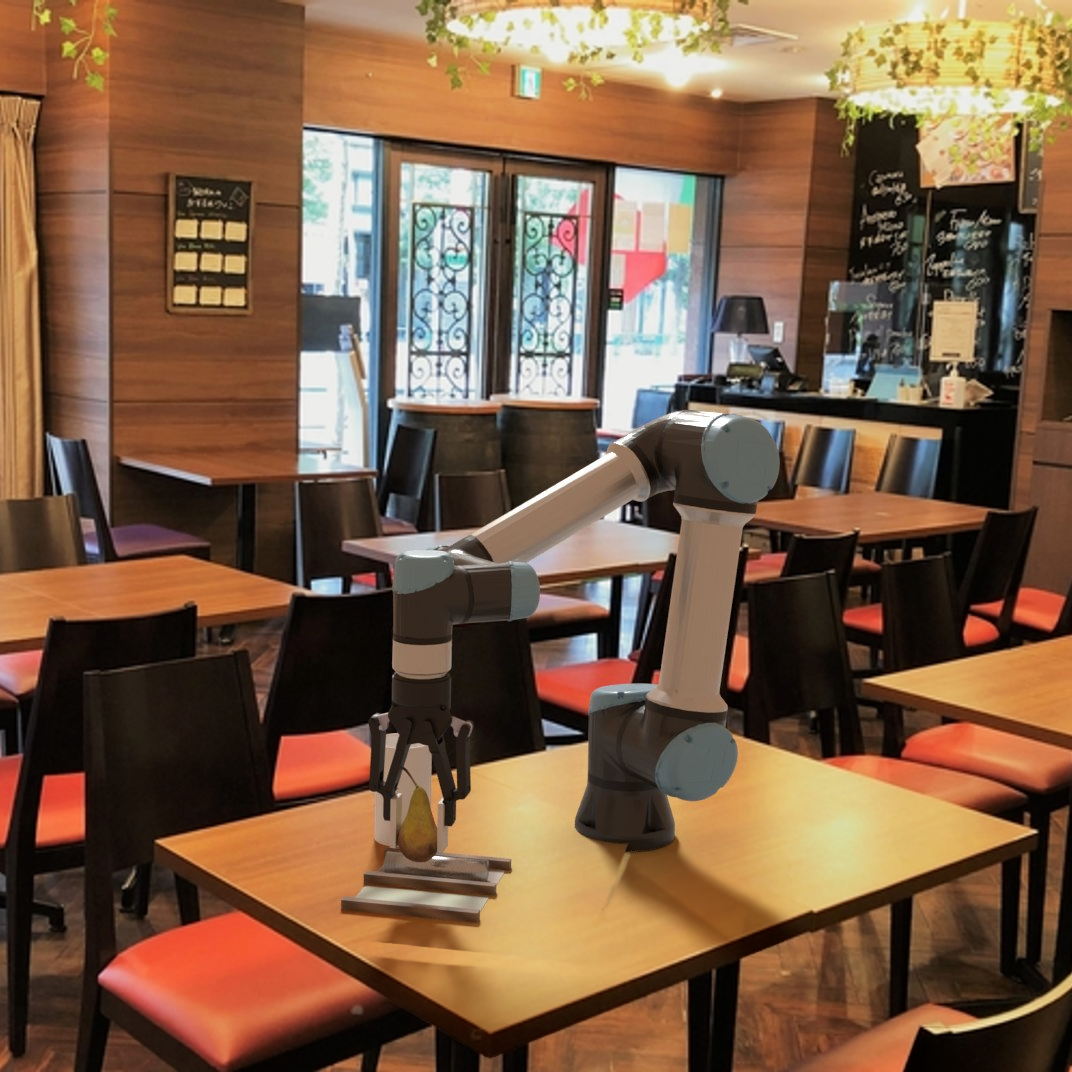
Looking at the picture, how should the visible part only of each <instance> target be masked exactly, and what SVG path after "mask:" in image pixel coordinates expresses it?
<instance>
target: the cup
mask: <svg viewBox="0 0 1072 1072" xmlns="http://www.w3.org/2000/svg"><path fill="white" fill-rule="evenodd" d="M398 738H399V734H398V732H396V733H386V746H385V764H384V781H385V782H386V779H387V776H388V773H389V770H390V766H391V763H392V760H393V757H394V753H395V750H396V744H397V741H398ZM432 761H433V758H432V754H431V753H430V751H429V748H428V745H423V744H420V743H416V744H411V746H410V748H409V751H408V754H407V757H406V761H405V764H404V767H405V768H406V769H407V770H408V771H409V773H410V774H411V776H412V778H413V779H414V781H415V782H416V784H417V785H418V786H420V787H422V788H424V790H425V791H426V793H427V795H428V798H429V803H430V807H431V808H432ZM397 788H398V789H397V790H396V791H395V794H396V793H402V823H403V821H404V819H405V817H406V815H407V813H408V809H409V805H410V800H411V797H412V795H413V791H414V790H415V789H416V786H415V784H414V783H413V781H412V779H411V778H410V777H409V775H408V774H407V773H406V772H405V771H404V770H402V774H401V777H400V780H399V783H398V786H397ZM373 823H374V828H373V829H374V837H373V838H374V840H375V842H377V843H378V844H380V845H382V846H385V847H386V846H387V847H390V821H385V820H384V818H383V796H382V795H381V794H380V793H378V792H374V822H373ZM396 848H399V846H397V847H396Z"/></svg>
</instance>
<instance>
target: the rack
mask: <svg viewBox="0 0 1072 1072" xmlns="http://www.w3.org/2000/svg"><path fill="white" fill-rule="evenodd" d="M383 851H384V852H383V855H384V856H383V859H385V855H386V853H387V852H388V851H389V852H400V853H402V852H401V851H400V849H399V848H398V847H396V848H390V847H385V848H384V850H383ZM435 856H443V857H454V858H465V859H476V860H487V861H489V876H488V880H487V882H479V881H468V880H458V879H447V878H436V877H426V876H415V875H405V874H394V873H385V872H384V863H383V864H382V865H381V866H380V867H379V869H378V870H376V871H372V870H366V871H365V872H364V873H363V884H365V885H364V886H363V887H362V888H361V890H360V891H359V892H358V893H357V894H356V895H355V896H354V897H353V896H352V897H351V896H343V897H342V898H341V900H340V901H341V902H340V907H341V908H340V910H342V911H343V910H344V911H354V912H365V913H373V914H375V913H376V914H383V915H384V914H385V915H395V916H405V917H413V918H414V917H415V918H424V919H435V920H444V921H445V920H446V921H456V922H464V923H475V924H478V923H479V922H480V918H481V912H482V910H483V908H484V907H485V905H486V903H487V902H488V900H489V899H490V897H489V896H495V895H496V894H497V885H498V884H499V882H500V881H501V879H502V878H503V876H504V874H505V872H506V871H510V870H511V869H512V858H507V857H495V856H485V855H471V854H463V853H462V854H461V853H451V852H450V853H449V852H443V853H439V852H437V853H436V854H435ZM366 884H369V885H366ZM374 885H375V886H374ZM376 885H378V886H376ZM379 885H381V886H379ZM385 886H391V887H385ZM396 887H400V888H396ZM401 887H402V888H401ZM407 888H411V889H407ZM416 889H417V890H416ZM418 889H422V890H418ZM428 890H431V891H428ZM432 890H433V891H432ZM440 891H443V892H440ZM449 892H452V893H449ZM453 892H455V893H453ZM459 893H464V894H459ZM470 894H471V895H470ZM472 894H474V895H472ZM479 895H482V896H479ZM483 895H485V896H483Z"/></svg>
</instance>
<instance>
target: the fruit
mask: <svg viewBox="0 0 1072 1072" xmlns="http://www.w3.org/2000/svg"><path fill="white" fill-rule="evenodd" d="M403 770H404V771H405V772H406V773H407V774H408V775H409V777H410V778H411V779H412V781H413V783H414V784H415V786H416V789H415V790H414V791H413V795H412V797H411V800H410V805H409V809H408V813H407V815H406V817H405V819H404V821H403V823H402V825H401V827H400V829H399V832H398V838H397V841H398V846H399V847H398V849H400V851H401V852H402V854H403V855H404V856H405V857H406V858H407V859H409V860H411V861H414V862H427V861H429V860H430V859H432V858H433V857H434V856H435V854H436V853H437V824H436V822H435V818H434V815H433V811H432V806H431V807H430V803H429V798H428V795H427V793H426V791H425V790H424V788H422V787H420V786H418V785H417V784H416V782H415V781H414V779H413V778H412V776H411V774H410V773H409V771H408V770H407V769H406V768H405V767H403Z"/></svg>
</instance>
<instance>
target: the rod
mask: <svg viewBox="0 0 1072 1072" xmlns="http://www.w3.org/2000/svg"><path fill="white" fill-rule="evenodd" d="M383 859H384V858H383ZM383 864H384V872H385V873H394V874H405V875H415V876H426V877H436V878H447V879H458V880H468V881H479V882H487V880H488V876H489V861H487V860H476V859H465V858H454V857H443V856H434V857H433V858H432V859H430V860H429V861H427V862H414V861H411V860H409V859H407V858H406V857H405V856H404V855H403V854H402V853H400V852H389V851H388V852H387V853H386V855H385V859H384V861H383Z"/></svg>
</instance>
